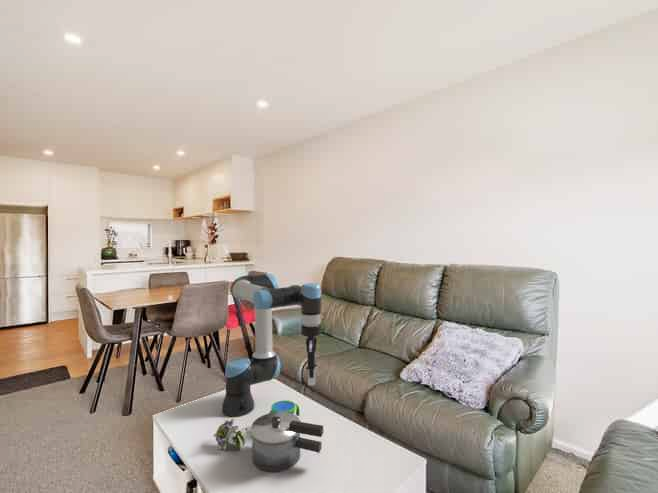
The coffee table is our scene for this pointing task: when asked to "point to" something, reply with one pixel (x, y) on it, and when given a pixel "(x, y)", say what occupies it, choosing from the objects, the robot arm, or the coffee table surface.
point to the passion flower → (229, 435)
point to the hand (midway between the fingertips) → (311, 384)
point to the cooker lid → (281, 428)
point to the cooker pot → (281, 453)
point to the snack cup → (285, 407)
